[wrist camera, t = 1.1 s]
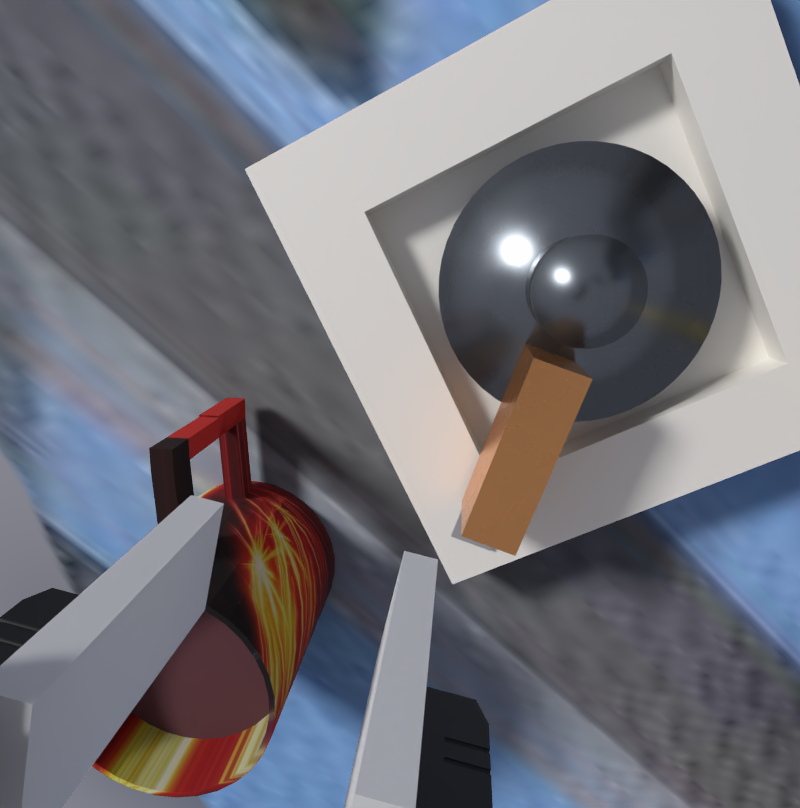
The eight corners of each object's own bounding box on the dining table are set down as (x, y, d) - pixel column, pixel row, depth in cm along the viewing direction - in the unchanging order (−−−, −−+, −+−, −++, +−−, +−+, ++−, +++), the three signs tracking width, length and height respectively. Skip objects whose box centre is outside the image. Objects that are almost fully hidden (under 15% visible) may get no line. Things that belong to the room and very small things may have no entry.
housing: (700, -57, 28) (800, -188, 20) (859, 389, 32) (1000, 440, 24) (269, 178, 33) (200, 152, 24) (453, 550, 36) (450, 642, 28)
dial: (494, 109, 29) (502, 74, 23) (752, 201, 29) (825, 188, 23) (372, 453, 33) (353, 496, 27) (596, 534, 33) (624, 595, 27)
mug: (247, 386, 35) (141, 453, 24) (364, 597, 38) (319, 753, 26) (105, 458, 37) (-59, 552, 26) (224, 655, 39) (123, 825, 28)
